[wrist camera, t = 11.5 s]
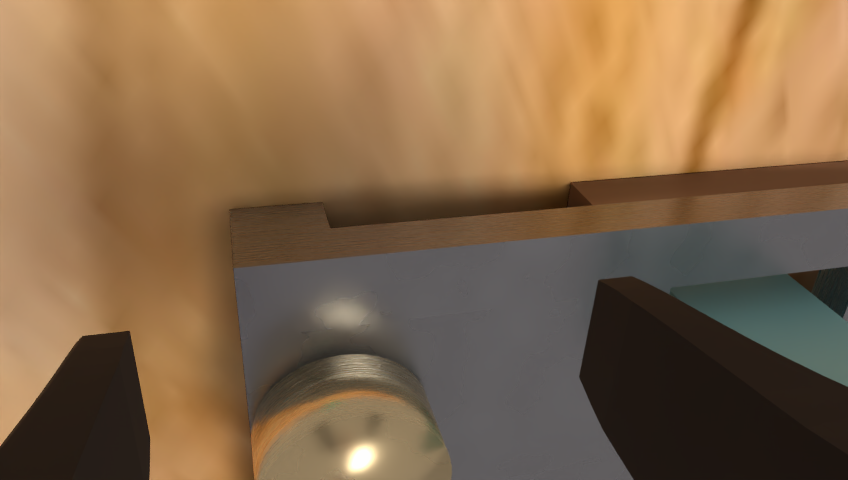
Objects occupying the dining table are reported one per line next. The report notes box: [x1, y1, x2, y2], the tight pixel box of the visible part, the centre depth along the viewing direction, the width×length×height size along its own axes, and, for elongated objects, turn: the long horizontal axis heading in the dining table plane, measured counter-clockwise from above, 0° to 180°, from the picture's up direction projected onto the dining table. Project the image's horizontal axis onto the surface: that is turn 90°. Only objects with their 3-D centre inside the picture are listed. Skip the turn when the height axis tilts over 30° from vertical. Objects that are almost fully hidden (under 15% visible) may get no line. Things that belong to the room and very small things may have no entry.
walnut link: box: [567, 161, 848, 293], centre depth 26 cm, size 11×21×4 cm, turn 87°
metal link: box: [229, 183, 848, 480], centre depth 23 cm, size 11×21×5 cm, turn 87°
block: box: [669, 274, 848, 387], centre depth 22 cm, size 4×4×9 cm
